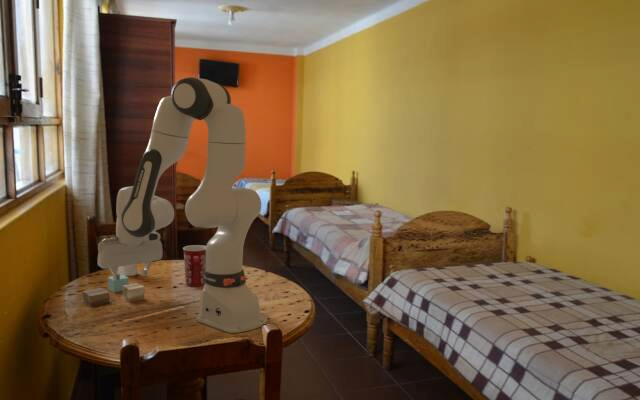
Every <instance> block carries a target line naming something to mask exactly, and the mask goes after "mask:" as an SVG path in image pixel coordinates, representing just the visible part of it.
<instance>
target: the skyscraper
mask: <svg viewBox="0 0 640 400" xmlns="http://www.w3.org/2000/svg"><path fill="white" fill-rule="evenodd" d="M117 222H118V217H117V216H116V223H115V225H117ZM116 228H117V227H116V226H115V229H116ZM116 273H118V274H120V275H124V276H126V277H128V276H131V277H133V276H136V275H139V271H138V268H137V264H132V265H126V266H119V267H117V271H116Z"/></svg>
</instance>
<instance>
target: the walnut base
mask: <svg viewBox="0 0 640 400" xmlns="http://www.w3.org/2000/svg"><path fill="white" fill-rule="evenodd" d="M82 300H83V301H85V302H86V303H87V304H89V305H94V306H96V305H95V304H98V305H101V304H100V303H103V304H105V303H104V302H108V303H110V302H109V301H111V299H110V292H109V291H107V289H105V288H103V287H97V288H93V289H88V290H87V289H86V290H83V291H82Z"/></svg>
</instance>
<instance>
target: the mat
mask: <svg viewBox="0 0 640 400" xmlns="http://www.w3.org/2000/svg"><path fill="white" fill-rule="evenodd" d="M80 301H81V302H82V303H84V304H85V305H86V306H88V307H92V306H98V305H103V304H107V303H111V302H112V300H110V301H109V302H104V303H100V304H95V305H89V304H87V303H86V302H85V301H83V299H80Z"/></svg>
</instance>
